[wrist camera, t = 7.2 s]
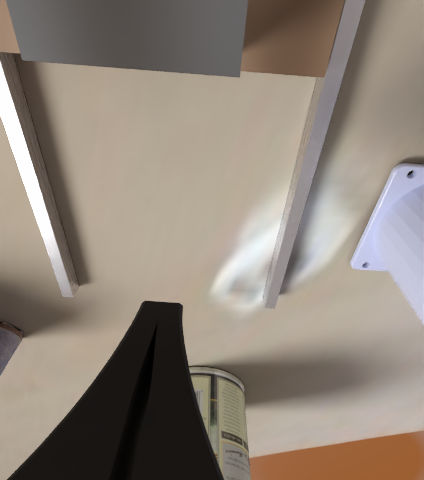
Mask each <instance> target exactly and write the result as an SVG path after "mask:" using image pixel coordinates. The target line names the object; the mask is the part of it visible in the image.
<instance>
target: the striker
mask: <svg viewBox="0 0 424 480" xmlns="http://www.w3.org/2000/svg"><path fill="white" fill-rule="evenodd" d="M344 1H345V0H0V52H7V53H20V54H21V58H22V60H24V61H37V62H50V63H63V64H75V65H88V66H101V67H114V68H126V69H139V70H152V71H165V72H177V73H190V74H203V75H216V76H228V77H240V71H247V72H260V73H272V74H285V75H298V76H310V77H323V78H324V77H325V73H326V70H327V66H328V62H329V58H330V54H331V50H332V47H333V43H334V39H335V35H336V31H337V28H338V24H339V20H340V16H341V12H342V8H343V5H344Z"/></svg>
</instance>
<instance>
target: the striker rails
mask: <svg viewBox="0 0 424 480" xmlns="http://www.w3.org/2000/svg"><path fill="white" fill-rule="evenodd" d="M365 1H366V0H345V1H344V5H343V8H342V12H341V16H340V20H339V24H338V28H337V31H336V35H335V39H334V43H333V47H332V50H331V54H330V58H329V62H328V66H327V70H326V73H325V77H324V78H323V77H317V80H316V84H315V88H314V92H313V96H312V100H311V104H310V108H309V113H308V117H307V121H306V125H305V129H304V133H303V137H302V141H301V145H300V149H299V153H298V157H297V161H296V165H295V169H294V173H293V177H292V181H291V185H290V189H289V193H288V197H287V201H286V205H285V209H284V213H283V217H282V221H281V225H280V229H279V233H278V237H277V241H276V245H275V249H274V253H273V257H272V261H271V265H270V269H269V273H268V277H267V281H266V285H265V289H264V293H263V301H264V307H265V308H273V309H275V306H276V303H277V299H278V296H279V292H280V289H281V286H282V282H283V279H284V275H285V272H286V269H287V265H288V262H289V258H290V255H291V252H292V248H293V245H294V241H295V238H296V235H297V231H298V228H299V225H300V221H301V218H302V214H303V211H304V208H305V204H306V201H307V197H308V194H309V191H310V187H311V184H312V180H313V177H314V174H315V170H316V167H317V163H318V160H319V157H320V153H321V150H322V146H323V143H324V140H325V136H326V133H327V129H328V126H329V123H330V119H331V116H332V113H333V109H334V106H335V102H336V99H337V96H338V92H339V89H340V85H341V82H342V79H343V75H344V72H345V68H346V65H347V62H348V58H349V55H350V51H351V48H352V45H353V41H354V38H355V34H356V31H357V28H358V24H359V21H360V17H361V14H362V11H363V7H364V4H365ZM0 114H1V117H2V120H3V123H4V126H5V129H6V132H7V135H8V138H9V140H10V143H11V146H12V149H13V152H14V155H15V158H16V161H17V164H18V167H19V170H20V173H21V176H22V179H23V181H24V184H25V187H26V190H27V193H28V196H29V199H30V202H31V205H32V208H33V211H34V214H35V217H36V220H37V222H38V225H39V228H40V231H41V234H42V237H43V240H44V243H45V246H46V249H47V252H48V255H49V258H50V261H51V263H52V266H53V269H54V272H55V275H56V278H57V281H58V284H59V287H60V290H61V293H62V296H63V297H74V295H75V293H76V291H77V289H78V287H79V284H78V280H77V277H76V273H75V270H74V266H73V263H72V259H71V256H70V252H69V249H68V245H67V242H66V238H65V235H64V231H63V228H62V224H61V221H60V217H59V213H58V210H57V206H56V203H55V199H54V196H53V192H52V189H51V185H50V182H49V178H48V175H47V171H46V168H45V164H44V161H43V157H42V154H41V150H40V147H39V143H38V140H37V136H36V133H35V129H34V126H33V122H32V119H31V115H30V112H29V108H28V104H27V101H26V97H25V94H24V90H23V87H22V83H21V80H20V76H19V73H18V69H17V66H16V62H15V59H14V55H13V53H7V52H0Z"/></svg>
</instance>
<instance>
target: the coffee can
mask: <svg viewBox="0 0 424 480" xmlns="http://www.w3.org/2000/svg"><path fill="white" fill-rule="evenodd" d="M189 370H190V375H191V379H192V383H193V387H194V391H195V394H196V398H197V402H198V405H199V409H200V412H201V415H202V418H203V422H204V425H205V428H206V431H207V434H208V437H209V440H210V443H211V446H212V448H213V451H214V454H215V456H216V459H217V462H218V464H219V467H220V470H221V472H222V475H223V478H224V480H251V478H250V464H249V451H248V438H247V425H246V413H245V400H244V393H245V389H244V386H243V384H242V382H241V381H240V380H239V379H238V378H237V377H235V376H234V375H232V374H230V373H228V372H225V371H223V370H220V369H215V368H210V367H189Z"/></svg>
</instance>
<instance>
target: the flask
mask: <svg viewBox="0 0 424 480" xmlns="http://www.w3.org/2000/svg"><path fill="white" fill-rule="evenodd" d="M22 336H23V332H22V331H18V330H17V329H16V328H15V327H13V326H11V325H10V324H7V323H5V322H3V323H0V375H1V374H2V372H3V370H4V368H5V367H6V365H7V363H8V361H9V360H10V358H11V357H12V355H13V353H14V352H15V350H16V349H17V347H18V345H19V344H20V342H21V341H22Z"/></svg>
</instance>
